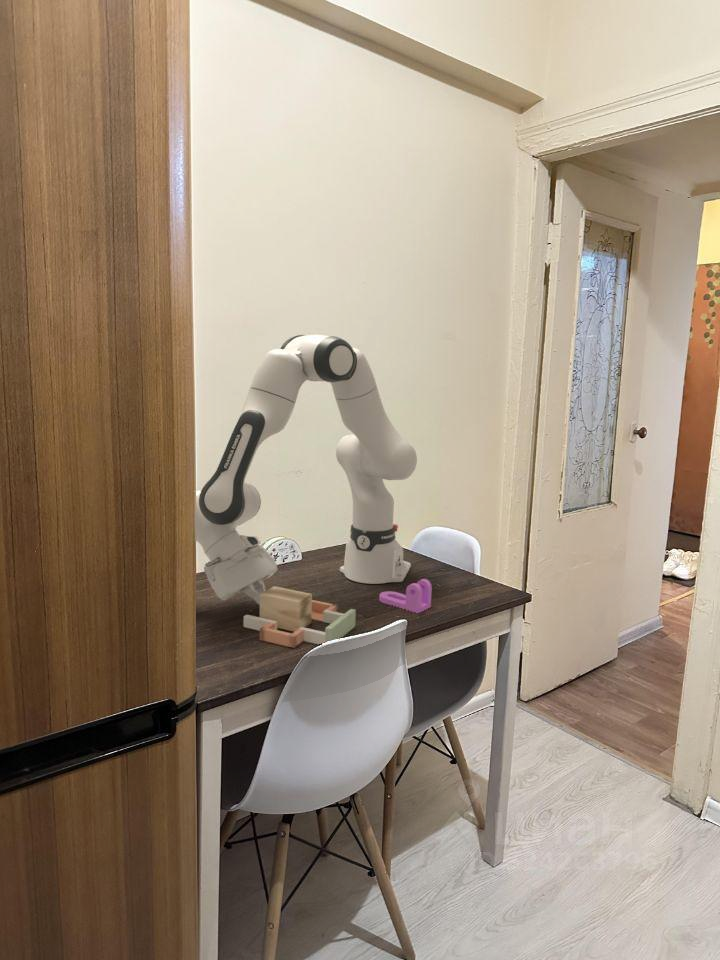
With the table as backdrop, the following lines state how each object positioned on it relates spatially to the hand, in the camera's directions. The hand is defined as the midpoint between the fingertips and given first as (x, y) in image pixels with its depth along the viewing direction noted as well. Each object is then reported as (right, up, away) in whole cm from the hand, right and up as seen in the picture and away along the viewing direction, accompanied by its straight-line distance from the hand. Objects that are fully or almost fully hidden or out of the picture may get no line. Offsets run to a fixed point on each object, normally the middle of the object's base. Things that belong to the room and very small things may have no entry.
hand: (264, 600), depth 155 cm
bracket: (+32, -3, +13) cm, 35 cm away
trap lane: (+8, -5, -3) cm, 10 cm away
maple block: (+5, -5, -1) cm, 7 cm away
